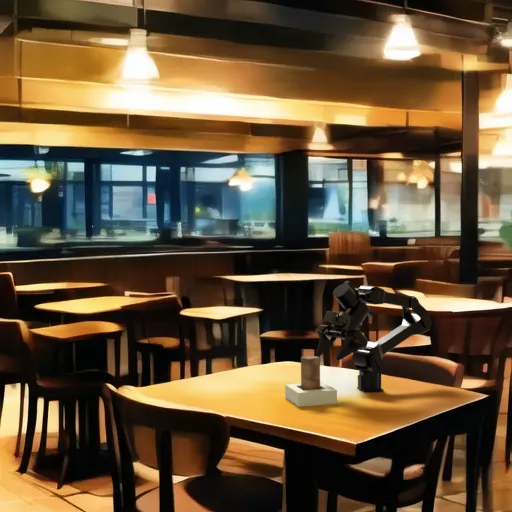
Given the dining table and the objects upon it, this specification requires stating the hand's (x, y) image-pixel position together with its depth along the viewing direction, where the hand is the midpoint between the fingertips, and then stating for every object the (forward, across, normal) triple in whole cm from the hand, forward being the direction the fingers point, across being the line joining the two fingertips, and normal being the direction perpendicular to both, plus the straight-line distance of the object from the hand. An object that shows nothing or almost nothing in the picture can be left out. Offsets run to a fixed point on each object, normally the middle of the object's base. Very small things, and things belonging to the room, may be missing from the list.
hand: (326, 357), depth 224 cm
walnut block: (+13, 0, +4) cm, 13 cm away
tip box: (+13, 0, +4) cm, 14 cm away
